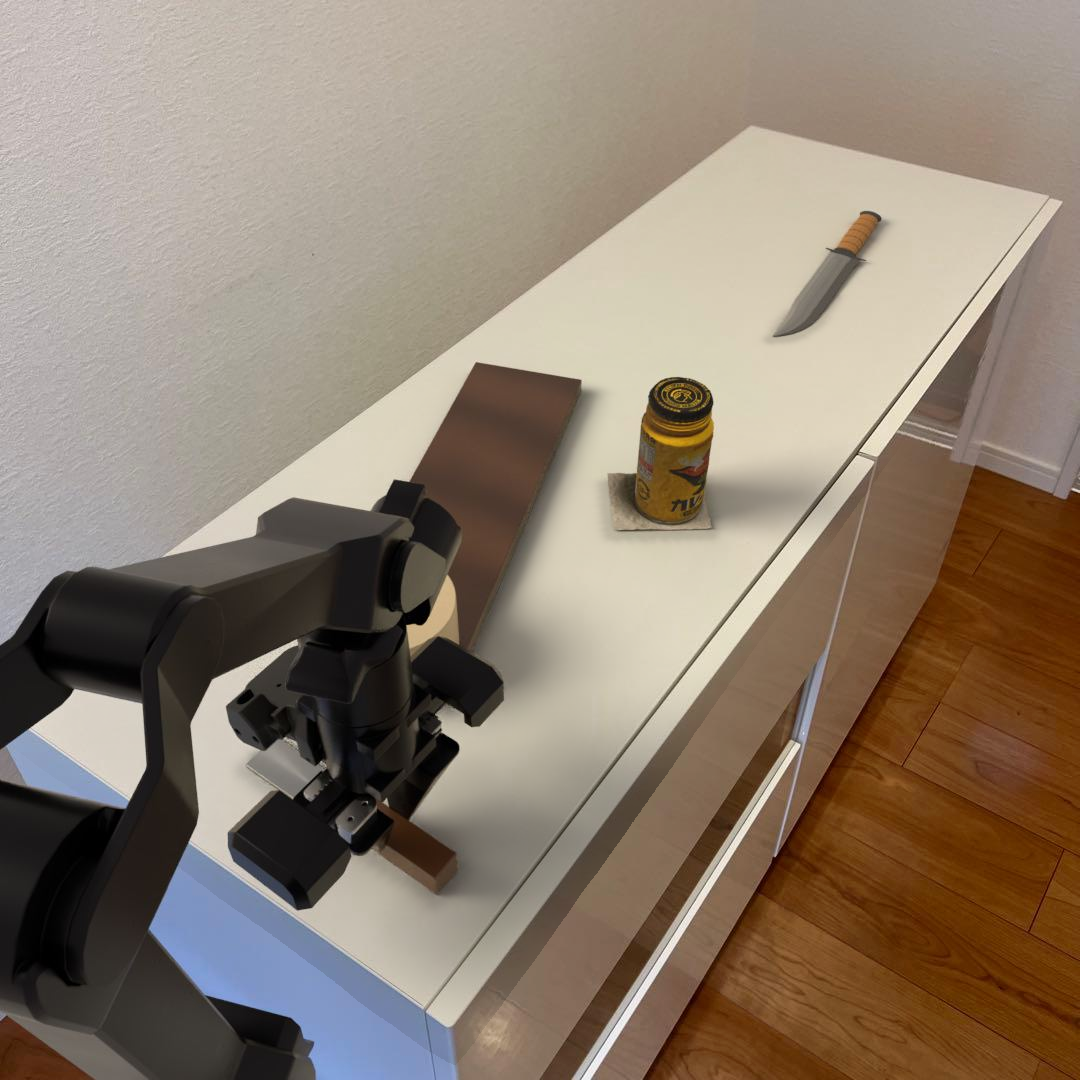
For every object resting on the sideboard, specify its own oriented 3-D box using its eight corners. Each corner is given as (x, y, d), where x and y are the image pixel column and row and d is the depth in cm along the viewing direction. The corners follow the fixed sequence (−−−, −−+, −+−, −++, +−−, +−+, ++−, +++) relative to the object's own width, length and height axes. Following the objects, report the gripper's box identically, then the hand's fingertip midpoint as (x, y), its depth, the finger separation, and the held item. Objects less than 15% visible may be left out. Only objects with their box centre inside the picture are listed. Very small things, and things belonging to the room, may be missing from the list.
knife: (807, 343, 112) (763, 327, 114) (805, 353, 113) (761, 337, 115) (895, 216, 131) (856, 204, 132) (892, 225, 132) (853, 213, 133)
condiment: (711, 529, 93) (729, 419, 85) (613, 531, 93) (622, 421, 84) (699, 474, 98) (715, 365, 90) (606, 476, 98) (614, 366, 90)
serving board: (450, 703, 80) (449, 691, 78) (312, 671, 82) (309, 659, 81) (581, 391, 107) (581, 379, 106) (476, 373, 109) (475, 361, 108)
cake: (433, 711, 77) (428, 665, 74) (304, 680, 79) (294, 635, 76) (476, 611, 84) (474, 565, 81) (357, 585, 86) (349, 539, 82)
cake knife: (462, 865, 70) (461, 848, 69) (433, 900, 68) (431, 883, 67) (277, 738, 77) (271, 720, 76) (246, 767, 75) (240, 749, 74)
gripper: (367, 532, 69) (390, 685, 79) (131, 728, 58) (195, 873, 69) (507, 608, 64) (510, 759, 75) (279, 837, 53) (322, 974, 64)
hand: (388, 833), depth 71 cm, fingers closed on cake knife, 2 cm apart
